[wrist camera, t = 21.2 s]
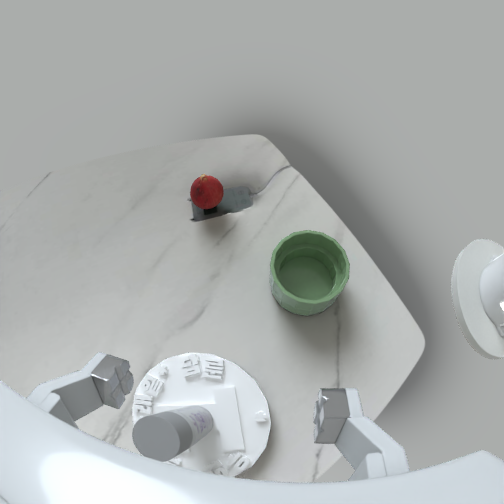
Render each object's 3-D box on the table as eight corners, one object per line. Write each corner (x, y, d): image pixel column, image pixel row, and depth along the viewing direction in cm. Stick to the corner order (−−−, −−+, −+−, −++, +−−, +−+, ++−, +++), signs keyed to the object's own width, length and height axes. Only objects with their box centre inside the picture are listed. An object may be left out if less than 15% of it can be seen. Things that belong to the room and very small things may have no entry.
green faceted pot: (340, 257, 45) (350, 237, 39) (335, 320, 40) (346, 309, 34) (276, 246, 46) (277, 225, 41) (264, 309, 41) (263, 295, 36)
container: (220, 420, 31) (192, 439, 18) (199, 443, 30) (161, 472, 16) (193, 398, 33) (150, 403, 20) (173, 421, 31) (121, 436, 18)
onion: (210, 223, 49) (202, 194, 42) (188, 208, 51) (178, 179, 44) (231, 201, 51) (226, 172, 44) (209, 188, 53) (202, 159, 46)
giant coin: (254, 490, 28) (253, 497, 26) (129, 453, 31) (120, 456, 28) (282, 368, 37) (283, 367, 34) (155, 340, 40) (147, 336, 37)
